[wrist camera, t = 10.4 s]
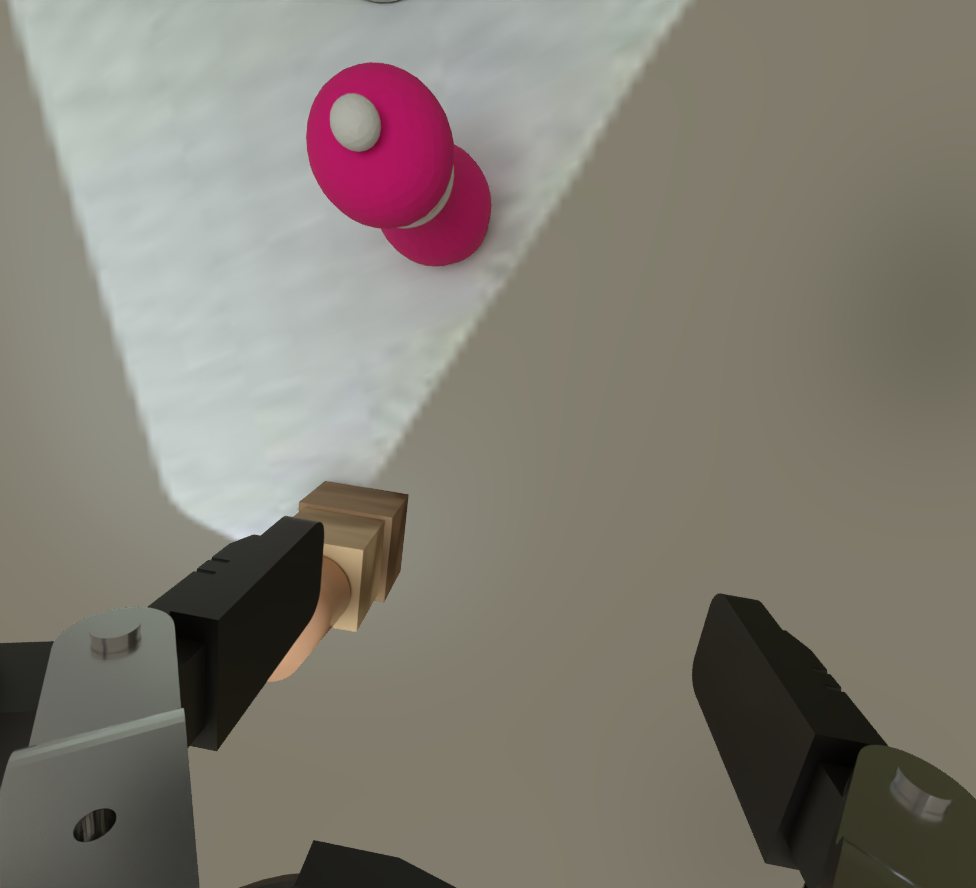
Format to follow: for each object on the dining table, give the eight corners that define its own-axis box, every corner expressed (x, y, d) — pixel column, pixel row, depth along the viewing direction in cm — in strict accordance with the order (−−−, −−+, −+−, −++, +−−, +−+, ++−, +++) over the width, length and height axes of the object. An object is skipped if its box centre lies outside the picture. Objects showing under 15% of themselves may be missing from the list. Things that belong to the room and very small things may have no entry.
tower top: (305, 507, 38) (271, 535, 33) (384, 520, 38) (363, 550, 33) (301, 579, 40) (269, 616, 35) (378, 592, 39) (356, 631, 35)
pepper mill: (394, 268, 38) (250, 223, 19) (396, 159, 36) (238, -14, 17) (492, 273, 38) (448, 232, 18) (499, 163, 36) (456, -11, 16)
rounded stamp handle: (275, 550, 34) (214, 593, 28) (348, 555, 33) (301, 599, 27) (280, 622, 35) (222, 677, 29) (351, 627, 34) (307, 685, 28)
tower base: (325, 480, 43) (299, 502, 38) (408, 494, 43) (392, 517, 38) (321, 557, 45) (295, 586, 40) (400, 570, 44) (384, 602, 40)
